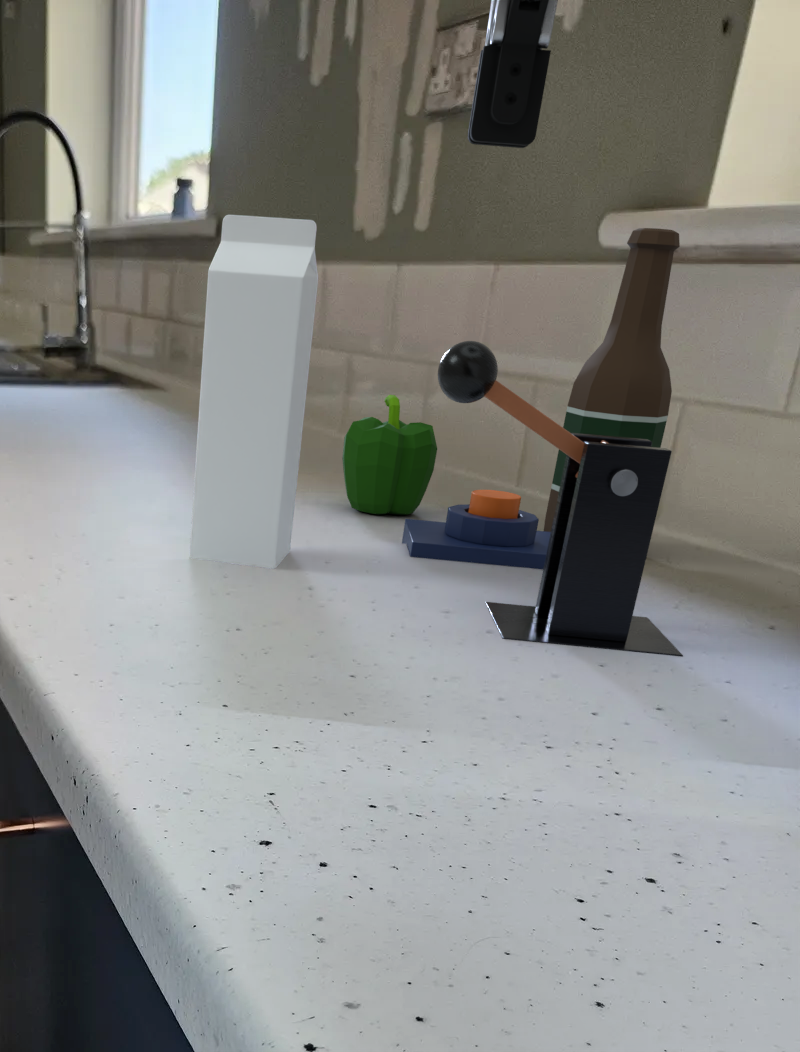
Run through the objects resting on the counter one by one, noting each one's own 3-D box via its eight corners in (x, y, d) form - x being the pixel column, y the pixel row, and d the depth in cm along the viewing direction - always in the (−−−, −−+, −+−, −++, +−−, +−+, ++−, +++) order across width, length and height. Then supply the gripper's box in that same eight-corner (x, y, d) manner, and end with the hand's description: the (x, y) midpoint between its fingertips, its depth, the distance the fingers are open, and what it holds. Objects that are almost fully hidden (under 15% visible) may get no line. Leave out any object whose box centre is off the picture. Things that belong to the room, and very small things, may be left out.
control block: (553, 560, 89) (563, 509, 87) (575, 588, 81) (587, 532, 79) (401, 546, 90) (408, 495, 88) (407, 572, 82) (416, 516, 80)
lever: (428, 384, 61) (465, 329, 59) (423, 379, 63) (459, 327, 62) (618, 518, 62) (658, 468, 61) (606, 507, 65) (644, 459, 64)
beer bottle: (655, 555, 94) (733, 234, 84) (593, 561, 90) (667, 225, 80) (582, 535, 100) (647, 233, 89) (521, 540, 96) (581, 224, 86)
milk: (208, 557, 82) (232, 217, 73) (289, 567, 81) (325, 223, 71) (186, 575, 76) (210, 210, 67) (274, 586, 75) (310, 216, 66)
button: (513, 515, 85) (517, 492, 85) (520, 524, 82) (524, 500, 81) (465, 511, 86) (469, 488, 85) (470, 520, 82) (474, 496, 82)
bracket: (498, 657, 64) (539, 442, 59) (482, 620, 71) (517, 425, 66) (678, 675, 63) (735, 459, 58) (643, 635, 70) (691, 440, 65)
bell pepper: (420, 525, 98) (438, 405, 94) (328, 513, 100) (342, 395, 96) (432, 510, 106) (450, 398, 101) (346, 499, 108) (360, 389, 104)
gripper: (720, -432, 42) (607, 131, 50) (626, -258, 56) (549, 164, 63) (518, -441, 43) (437, 118, 50) (474, -266, 56) (415, 154, 64)
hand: (499, 143), depth 57 cm, fingers closed
